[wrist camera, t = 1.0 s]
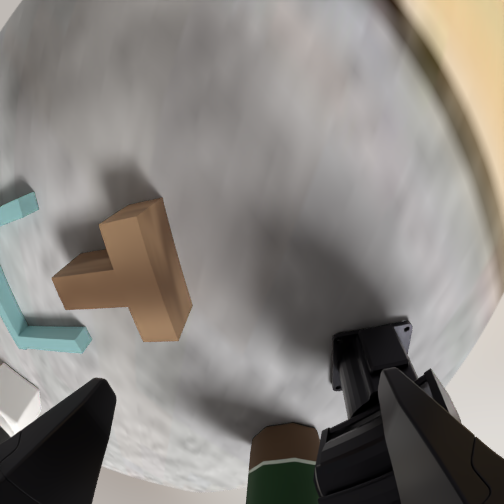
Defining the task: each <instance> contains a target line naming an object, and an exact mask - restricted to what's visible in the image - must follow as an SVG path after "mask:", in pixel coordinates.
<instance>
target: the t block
mask: <svg viewBox="0 0 504 504" xmlns="http://www.w3.org/2000/svg"><path fill="white" fill-rule="evenodd" d="M99 228H100V231H101V234H102V237H103V240H104V243H105V246H106V249H103V250H98V251H92V252H86V253H81V254H80V255H78V256H77V257H76V258H75V259H73V260H72V261H71V262H70V263H69V264H67V265H66V266H65V267H64V268H63V269H61V270H60V271H59V272H58V273H57V274H55V275H54V276H53V277H52V281H53V283H54V285H55V288H56V290H57V292H58V295H59V297H60V299H61V301H62V303H63V305H64V308H65V310H75V309H97V308H115V307H128V308H129V310H130V313H131V315H132V317H133V320H134V322H135V324H136V326H137V329H138V331H139V333H140V335H141V338H142V340H143V342H162V341H179V338H180V336H181V333H182V331H183V328H184V326H185V323H186V321H187V318H188V316H189V313H190V311H191V308H192V306H193V305H192V302H191V299H190V295H189V292H188V289H187V286H186V282H185V279H184V276H183V272H182V269H181V265H180V262H179V258H178V255H177V251H176V248H175V244H174V240H173V237H172V233H171V229H170V225H169V222H168V218H167V214H166V210H165V206H164V202H163V198H158V199H153V200H148V201H144V202H139V203H135V204H130V205H128V206H126V207H125V208H123V209H122V210H120V211H118V212H117V213H115V214H114V215H112V216H111V217H109V218H108V219H106V220H105V221H103V222H102V223H100V224H99Z"/></svg>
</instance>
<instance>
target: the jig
mask: <svg viewBox="0 0 504 504" xmlns="http://www.w3.org/2000/svg"><path fill="white" fill-rule="evenodd" d="M37 210H39V208H38V204H37V201H36V197H35V193H34V192H32V193H29V194H27V195H25V196H22V197H20V198H18V199H16V200H13V201H11V202H9V203H7V204H5V205H3V206H0V226H2V225H5V224H7V223H10V222H12V221H15V220H18V219H20V218H23V217H25V216H27V215H29V214H31V213H33V212H35V211H37ZM0 316H1V318H2V320H3V322H4V323H5V325H6V327H7V329H8V331H9V333H10V334H11V336H12V338H13V340H14V341H15V343H16V345H17V346H18V348H19V349H24V350H26V349H27V348H30V349H38V350H47V351H58V352H69V353H83V352H84V350H85V349H86V348H87V346H88V345H89V343H90V342H91V341H92V339H91V337H90V335H89V333H88V331H87V329H86V327H61V326H28V324H27V322H26V320H25V318H24V316H23V315H22V313H21V311H20V309H19V307H18V305H17V302H16V300H15V298H14V296H13V294H12V292H11V290H10V287H9V285H8V283H7V280H6V278H5V276H4V273H3V271H2V268H1V266H0Z"/></svg>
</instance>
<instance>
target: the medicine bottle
mask: <svg viewBox="0 0 504 504" xmlns="http://www.w3.org/2000/svg"><path fill="white" fill-rule="evenodd" d="M41 410H42V409H41V401H40V393H39V389H38V388H37V387H35V386H34V385H32V384H31V383H30V382H28V381H27V380H26V379H24V378H23V377H22V376H20V375H19V374H18V373H17V372H15V371H14V370H13V369H11V368H10V367H9V366H8V365H7V364H5V363H2V364H1V365H0V444H1V443H2V442H4V441H6V440H7V439H9V438H10V437H12V436H13V435H15V434H16V433H17V432H19V431H20V430H22V429H23V428H25V427H26V426H27V425H29V424H30V423H32V422H33V421H34V420H36V418H37V417H38V415H39V414H40V412H41Z"/></svg>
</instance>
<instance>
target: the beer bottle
mask: <svg viewBox="0 0 504 504" xmlns="http://www.w3.org/2000/svg"><path fill="white" fill-rule="evenodd" d="M319 445H320V439H319V436H318V433H317V430H316V429H315V428H312V427H308V426H304V425H300V424H296V423H287V424H281V425H274V426H267V427H266V428H264V429H263V430H262V431H261V432H260V433H259V434H257V435H256V436H255V437H254V438H253V440H252V445H251V452H250V463H249V474H248V486H247V497H246V504H319V503H318V498H320V497H319V495H318V493H317V491H316V488H315V484H314V482H313V478H314V469H315V464H316V459H317V455H318V450H319Z"/></svg>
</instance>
